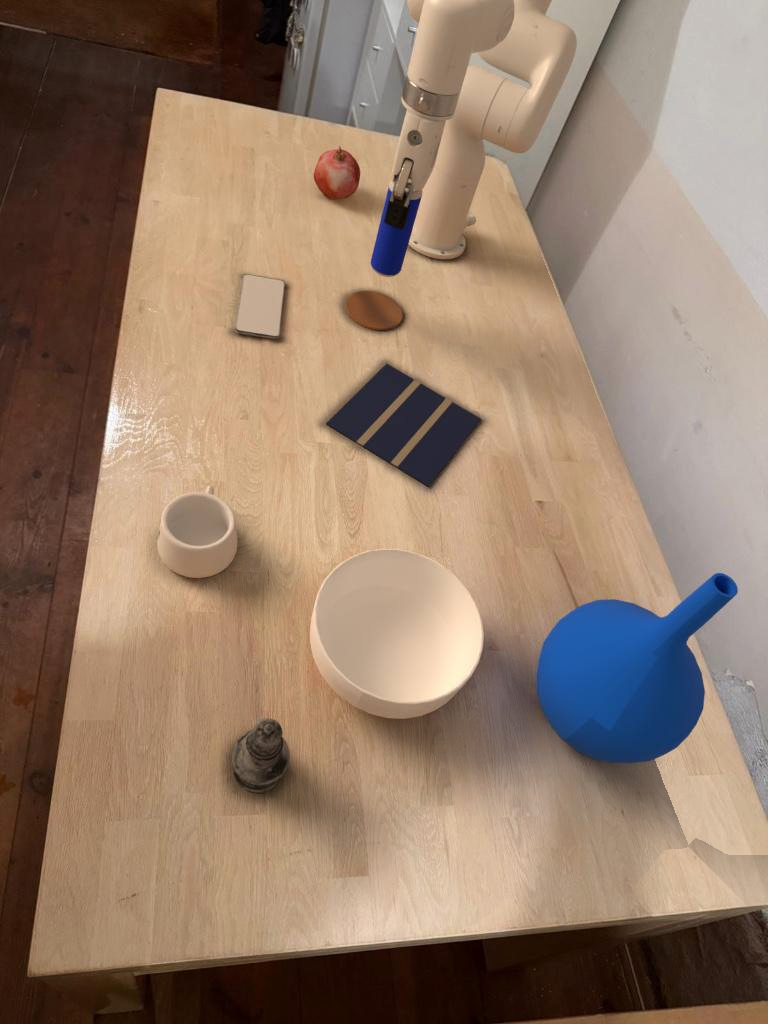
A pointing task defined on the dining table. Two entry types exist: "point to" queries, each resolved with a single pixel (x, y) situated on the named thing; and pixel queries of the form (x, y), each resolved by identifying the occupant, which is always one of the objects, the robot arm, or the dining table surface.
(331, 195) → the fruit
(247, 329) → the smartphone
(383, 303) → the coaster
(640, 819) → the dining table surface
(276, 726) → the dark stone chess piece
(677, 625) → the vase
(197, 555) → the mug
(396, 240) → the beverage can
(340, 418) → the plate
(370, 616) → the bowl
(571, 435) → the dining table surface
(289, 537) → the dining table surface
